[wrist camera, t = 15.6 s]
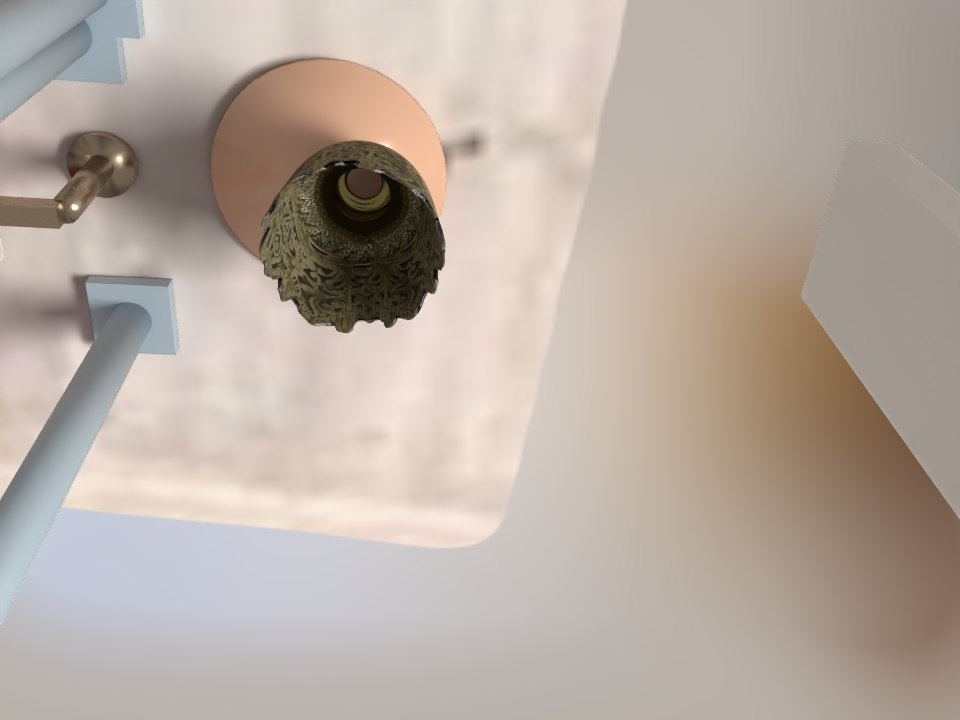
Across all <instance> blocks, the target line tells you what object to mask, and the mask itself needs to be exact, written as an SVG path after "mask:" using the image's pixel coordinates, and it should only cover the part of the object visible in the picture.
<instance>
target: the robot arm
mask: <svg viewBox="0 0 960 720" xmlns="http://www.w3.org/2000/svg"><path fill="white" fill-rule="evenodd" d="M3 257H4V253H3V249H2V244H1V239H0V260H1V259H2V258H3ZM801 297H802V299H803V300H804V301H805V303H806V304H807V306H808V307H809V309H810V310H811V311H812V313H813V314H814V316H815V317H816V318H817V320H818V321H819V323H820V324H821V325H822V327H823V328H824V330H825V331H826V332H827V334H828V335H829V337H830V338H831V339H832V341H833V342H834V344H835V345H836V346H837V348H838V349H839V351H840V352H841V354H842V355H843V356H844V358H845V359H846V361H848V363H849V365H850V366H851V368H852V369H853V370H854V372H855V373H856V375H857V376H858V377H859V379H860V380H861V381H862V383H863V384H864V386H865V387H866V389H867V390H868V391H869V393H870V394H871V396H872V397H873V398H874V400H875V401H876V403H877V404H878V405H879V407H880V408H881V410H882V411H883V412H884V414H885V415H886V417H887V418H888V419H889V421H890V422H891V424H892V425H893V427H894V428H895V429H896V431H897V432H898V434H899V435H900V436H901V438H902V439H903V441H904V442H905V443H906V445H907V446H908V448H909V449H910V450H911V452H912V453H913V455H914V456H915V457H916V459H917V460H918V462H919V463H920V464H921V466H922V467H923V469H924V470H925V471H926V473H927V474H928V476H929V477H930V478H931V480H932V481H933V483H934V484H935V485H936V487H937V488H938V489H939V491H940V492H941V494H942V495H943V497H944V498H945V499H946V501H947V502H948V504H949V505H950V507H951V508H952V509H953V511H954V512H955V514H956V515H957V516H958V518H959V519H960V194H959V193H958V192H957V191H955V190H954V189H953V188H952V187H950V186H949V185H948V184H947V183H945V182H944V181H943V180H942V179H940V178H939V177H938V176H937V175H935V174H934V173H933V172H931V171H930V170H929V169H928V168H926V167H925V166H924V165H922V164H921V163H920V162H919V161H918V160H916V159H915V158H914V157H912V156H911V155H910V154H909V153H907V152H906V151H905V150H904V149H902V148H901V147H900V146H899V145H897V144H896V143H888V142H873V141H857V140H848V141H847V145H846V148H845V152H844V155H843V158H842V161H841V165H840V168H839V171H838V175H837V178H836V181H835V185H834V188H833V191H832V194H831V198H830V201H829V204H828V208H827V211H826V214H825V218H824V221H823V224H822V228H821V231H820V234H819V237H818V241H817V244H816V247H815V251H814V254H813V257H812V261H811V264H810V267H809V271H808V274H807V277H806V281H805V284H804V287H803V291H802V294H801Z"/></svg>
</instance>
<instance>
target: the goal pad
mask: <svg viewBox="0 0 960 720" xmlns="http://www.w3.org/2000/svg"><path fill="white" fill-rule="evenodd" d="M352 140H362V141H370V142H374V143H378V144H381V145H384V146H386V147H388V148H391V149H393V150H394V151H396V152H398V153H399V154H401V155H402V156H403V157H404V158H406V159H407V160H408V161H409V162H410V163H411V164H412V165H413V166H414V167H415V168H416V170H417V171H418V172H419V174H420V175H421V177H422V178H423V180H424V181H425V183H426V185H427V187H428V189H429V192H430V194H431V197H432V199H433V202H434V205H435V208H436V212H437V215H438V218H439V217H440V215H441V212H442V208H443V205H444V201H445V193H446V165H445V158H444V153H443V149H442V146H441V142H440V139H439V137H438V134H437V132H436V130H435V127H434V125H433V124H432V122H431V120H430V119H429V117H428V115H427V114H426V112H425V111H424V110H423V108H422V107H421V106H420V105H419V103H418V102H417V101H416V100H415V99H414V98H413V97H412V96H411V95H410V94H409V93H408V92H407V91H406V90H405V89H404V88H402V87H401V86H400V85H398V84H397V83H396V82H394V81H393V80H392V79H390V78H388V77H386V76H385V75H383V74H381V73H379V72H378V71H375V70H373V69H370V68H368V67H365V66H363V65H360V64H356V63H352V62H348V61H343V60H336V59H308V60H300V61H296V62H292V63H288V64H285V65H282V66H279V67H277V68H275V69H272V70H270V71H268V72H266V73H265V74H263V75H261V76H260V77H258V78H257V79H255V80H254V81H253V82H251V83H250V84H249V85H248V86H247V87H245V88H244V89H243V90H242V91H241V93H240V94H239V95H238V96H237V97H236V98H235V99H234V100H233V102H232V104H231V105H230V107H229V108H228V110H227V111H226V113H225V114H224V116H223V118H222V120H221V122H220V125H219V127H218V129H217V132H216V135H215V139H214V142H213V147H212V154H211V177H212V184H213V189H214V193H215V196H216V200H217V203H218V205H219V207H220V210H221V212H222V214H223V216H224V218H225V220H226V221H227V223H228V225H229V226H230V228H231V230H232V231H233V232H234V233H235V235H236V236H237V237H238V239H239V240H240V241H241V242H242V243H243V244H244V245H245V246H246V247H247V248H248V249H249V250H250V251H251V252H252V253H254V254H255V255H256V256H257V257H259V258H260V256H259V244H260V240H261V237H262V234H263V231H264V228H263V227H262V226H261V222H262V219H263V217H264V215H265V214H266V212H267V211H268V210H269V208H270V206H271V204H272V202H273V200H274V198H275V197H276V196H277V194H278V193H279V192H280V191H281V189H282V188H283V186H284V185H285V184H286V182H287V181H288V180H289V178H290V177H291V176H292V175H293V173H294V172H295V171H296V170H297V168H298V167H299V166H300V165H301V164H302V163H303V162H304V161H305V160H307V159H308V158H309V157H310V156H312V155H313V154H314V153H316V152H318V151H319V150H321V149H323V148H325V147H328V146H330V145H333V144H336V143H339V142H344V141H352ZM347 185H348V188H349V190H350V191H351V192H352V193H353V194H354V195H356V196H357V197H360V198H370V197H373V196H375V195H376V194H377V193H378V192H379V191H380V189H381V186H382V180H381V176H380V175H379V174H378V173H376V172H373V171H371V170H368V169H353V170H351V171H350V173H349V175H348V177H347ZM260 259H261V258H260ZM261 260H262V261H263V260H264V259H261Z"/></svg>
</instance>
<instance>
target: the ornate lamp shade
mask: <svg viewBox="0 0 960 720" xmlns="http://www.w3.org/2000/svg"><path fill="white" fill-rule="evenodd" d="M353 169H368V170H371V171H373V172H376V173H378V174H379V175H380V176H381V180H382V186H381V189H380V191H379V192H378V193H377V194H376V195H375V196H373V197H370V198H360V197H357V196H356V195H354V194H353V193H352V192H351V191H350V190H349V188H348V185H347V177H348V175H349V173H350V171H351V170H353ZM261 226H262V227H263V228H264V231H263V234H262V237H261V240H260V244H259V256H260V258H261V259H264V260H263V264H264V274H265V275H266V276H268V277H271V278H272V279H273V280H276V279H278V288H277V289H278V291H279V295H280V299H281V301H282V302H284V301H288V300H289V299H290V300H292V301H293V302H294V303H295V305H296V306H297V309H298V312H299V313H300V314H301V315H302V316H303V317H304V318H305V319H306V320H307V321H308V323H309V324H311V325H314V326H324V325H326V326H335V328H336V330H337V331H339V332H342V333H349V332H351V331H353V327H354V325H355V324H356V323H357V322H358V321H365V322H367V323H372V322H374V321H376V320H381V322H384V325H385V327H386V328H390V327H392V326H393V325H394V324H395V323H396V321H397V318H401V319H406V320H411V319H413V318H414V317H415V316H416V315H417V314H418V313H419V311H420V309H421V307H422V304H423V301H424V299H425V297H426V295H427V293H428V292H429V293H431V294H435V292H436V289H437V285H438V282H439V281H438V270H442V268H443V267H444V264H445V249H444V248H445V239H444V235H443V231H442V228H441V225H440V222H439V218H438V215H437V212H436V208H435V205H434V202H433V199H432V197H431V194H430V192H429V189H428V187H427V185H426V183H425V181H424V180H423V178H422V177H421V175H420V174H419V172H418V171H417V170H416V168H415V167H414V166H413V165H412V164H411V163H410V162H409V161H408V160H407V159H406V158H404V157H403V156H402V155H401V154H399V153H398V152H396V151H394V150H393V149H391V148H388V147H386V146H384V145H381V144H378V143H374V142H370V141H362V140H352V141H344V142H339V143H336V144H333V145H330V146H328V147H325V148H323V149H321V150H319V151H318V152H316V153H314V154H313V155H312V156H310V157H309V158H308V159H307V160H305V161H304V162H303V163H302V164H301V165H300V166H299V167H298V168H297V170H296V171H295V172H294V173H293V175H292V176H291V177H290V178H289V180H288V181H287V182H286V184H285V185H284V186H283V188H282V189H281V191H280V192H279V193H278V194H277V196H276V197H275V198H274V200H273V202H272V204H271V206H270V208H269V210H268V211H267V212H266V214H265V215H264V217H263V219H262V222H261Z"/></svg>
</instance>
